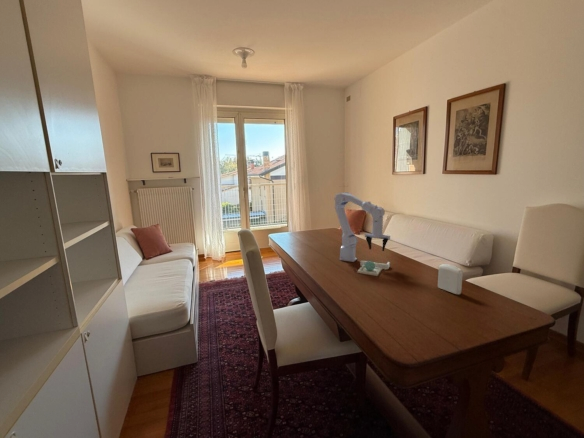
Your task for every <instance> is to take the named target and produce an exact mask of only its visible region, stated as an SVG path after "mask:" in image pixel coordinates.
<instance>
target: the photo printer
mask: <svg viewBox="0 0 584 438" xmlns="http://www.w3.org/2000/svg"><path fill="white" fill-rule="evenodd" d="M463 274H464V273H463V270H462V269H461V268H459V267H457V266H456V265H453V264H448V263H443V264H439V267H438V273H437V275H438V277H437V288H438V289H441V290H442V291H445V292H449V293H452V294H455V295H461V294H462V290H463V289H462V287H463V286H462V285H463Z"/></svg>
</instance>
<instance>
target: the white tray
mask: <svg viewBox="0 0 584 438" xmlns="http://www.w3.org/2000/svg"><path fill="white" fill-rule="evenodd" d="M382 270H383V269H382V268H379V267H375V268H374V270H372V271H368V270H367V269H366V268H365V265H362V266H360V267H359V269H358V270H357V274H362V275H369V276H376V277H378V276H379V275H380V273H381V272H382Z"/></svg>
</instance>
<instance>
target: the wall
mask: <svg viewBox="0 0 584 438" xmlns="http://www.w3.org/2000/svg"><path fill="white" fill-rule="evenodd" d="M367 261H368V260H360V261H359V264H360V267H361V266H362V265H365V263H366V262H367ZM373 262H374V261H373ZM374 264H375V267H379V268H382V270H385V271H386V270H389V268H390V266H391V265H390V264H391V262H390V261H387V263H383V262H382V263H380V262H374Z"/></svg>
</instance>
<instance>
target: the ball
mask: <svg viewBox="0 0 584 438" xmlns="http://www.w3.org/2000/svg"><path fill="white" fill-rule="evenodd" d="M366 261H367V262H366V263H365V268H366V269H367V270H368V271H372V270H374V268H375V264H374V261H372V260H366Z"/></svg>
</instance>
